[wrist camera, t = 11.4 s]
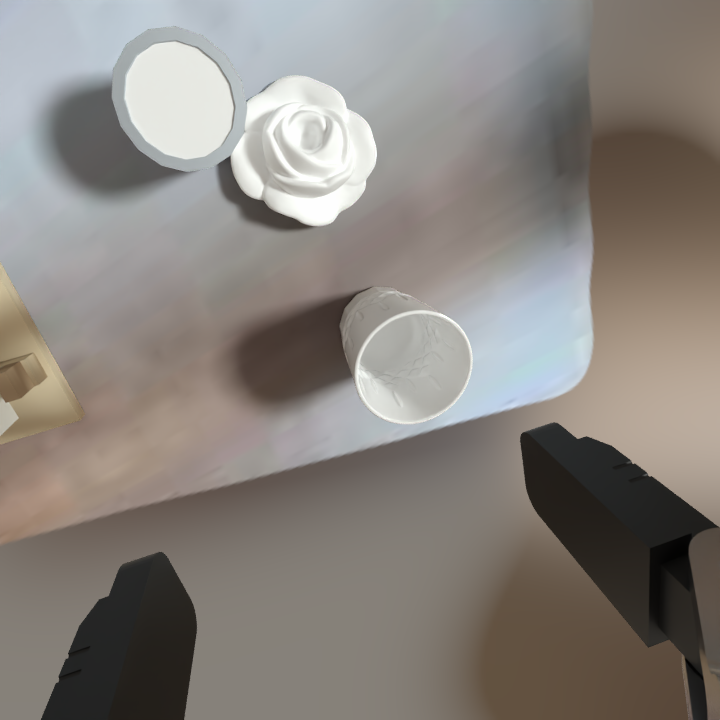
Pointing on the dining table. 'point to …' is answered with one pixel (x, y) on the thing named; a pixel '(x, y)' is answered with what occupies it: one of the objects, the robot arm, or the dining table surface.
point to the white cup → (404, 355)
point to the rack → (30, 372)
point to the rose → (303, 151)
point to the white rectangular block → (6, 415)
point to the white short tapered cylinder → (179, 99)
